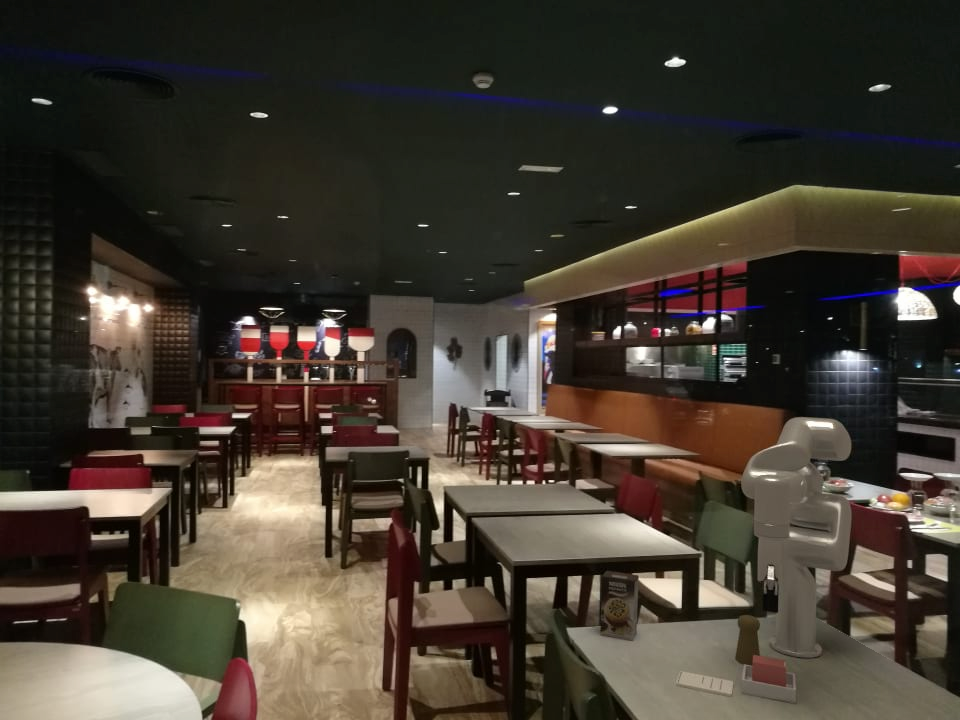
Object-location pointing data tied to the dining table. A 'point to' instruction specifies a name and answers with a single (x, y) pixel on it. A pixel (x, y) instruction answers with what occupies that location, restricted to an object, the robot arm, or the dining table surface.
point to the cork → (747, 639)
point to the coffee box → (619, 605)
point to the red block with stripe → (769, 670)
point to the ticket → (705, 683)
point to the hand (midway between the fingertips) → (770, 604)
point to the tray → (769, 687)
